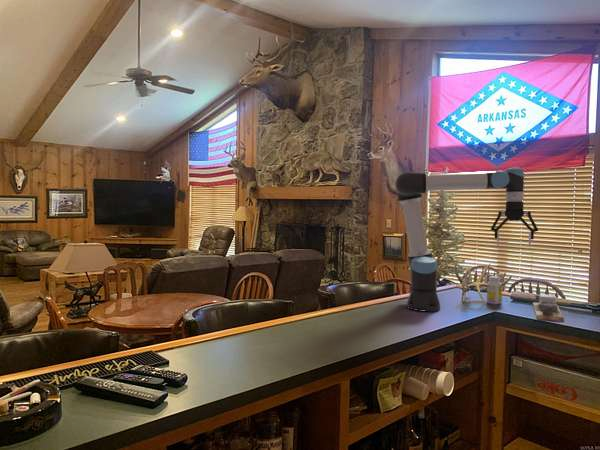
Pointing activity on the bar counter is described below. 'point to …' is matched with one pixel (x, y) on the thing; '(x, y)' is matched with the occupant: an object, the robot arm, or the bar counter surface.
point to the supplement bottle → (494, 290)
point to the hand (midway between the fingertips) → (513, 245)
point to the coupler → (547, 299)
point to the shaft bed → (547, 317)
